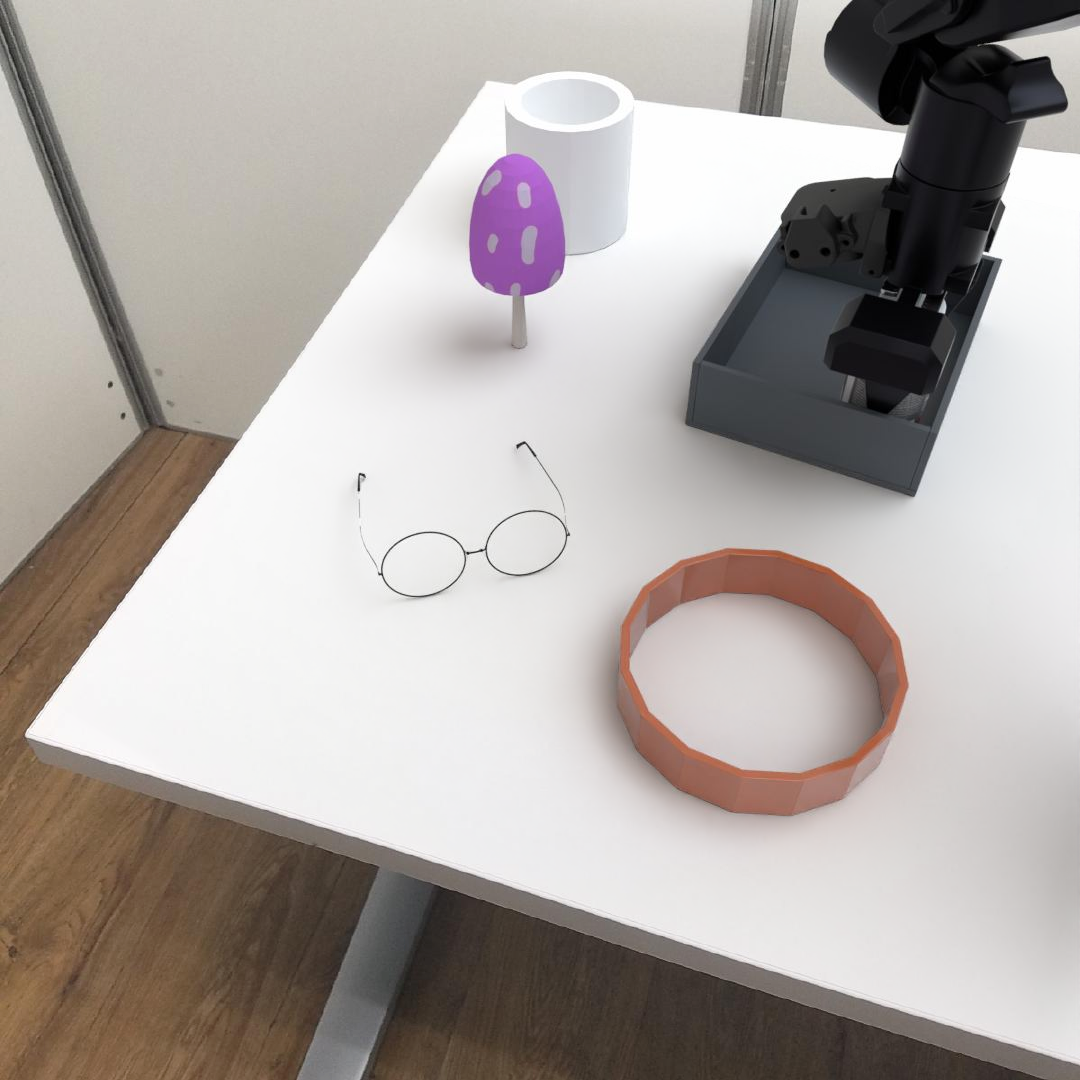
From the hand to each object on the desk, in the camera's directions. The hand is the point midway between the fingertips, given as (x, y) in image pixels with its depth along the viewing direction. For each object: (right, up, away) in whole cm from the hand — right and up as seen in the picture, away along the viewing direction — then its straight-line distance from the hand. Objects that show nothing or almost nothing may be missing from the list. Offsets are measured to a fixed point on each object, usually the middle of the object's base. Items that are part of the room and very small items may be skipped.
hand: (887, 388), depth 69 cm
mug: (-20, +18, +23) cm, 35 cm away
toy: (-24, +5, +11) cm, 27 cm away
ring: (-11, -18, -10) cm, 23 cm away
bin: (-1, +3, +9) cm, 9 cm away
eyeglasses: (-28, -9, -1) cm, 29 cm away
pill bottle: (0, -2, +2) cm, 3 cm away
